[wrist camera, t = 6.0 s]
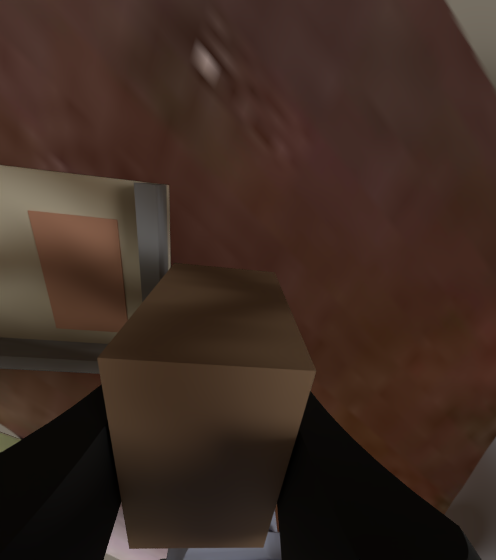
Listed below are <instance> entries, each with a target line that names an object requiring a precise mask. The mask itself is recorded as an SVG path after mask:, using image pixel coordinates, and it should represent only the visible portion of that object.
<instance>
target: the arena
mask: <svg viewBox="0 0 496 560" xmlns="http://www.w3.org/2000/svg"><path fill="white" fill-rule="evenodd" d="M170 268H171V264H170V207H169V185H164V184H156V183H147V182H139V181H130V180H122V179H114V178H105V177H97V176H88V175H80V174H71V173H63V172H55V171H46V170H38V169H29V168H21V167H12V166H4V165H0V368H2V369H22V370H41V371H60V372H80V373H99V374H100V372H99V366H98V360H97V358H98V356H99V355H100V354H101V353H102V351H103V350H104V349H105V348H106V346H107V345H108V344H109V343H110V342H111V340H112V339H113V338H114V337H115V335H116V334H117V333H118V332H119V330H120V329H121V328H122V327H123V326H124V324H125V323H126V322H127V321H128V319H129V318H130V317H131V316H132V314H133V313H134V312H135V311H136V310H137V308H138V307H139V306H140V305H141V303H142V302H143V301H144V300H145V299H146V297H147V296H148V295H149V294H150V292H151V291H152V290H153V289H154V287H155V286H156V285H157V284H158V283H159V281H160V280H161V279H162V278H163V276H164V275H165V274H166V273H167V271H168V270H169V269H170Z"/></svg>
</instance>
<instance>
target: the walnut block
mask: <svg viewBox="0 0 496 560" xmlns="http://www.w3.org/2000/svg"><path fill="white" fill-rule="evenodd" d="M97 360H98V366H99V372H100V378H101V383H102V389H103V395H104V401H105V407H106V413H107V419H108V425H109V431H110V437H111V443H112V449H113V454H114V460H115V466H116V472H117V478H118V484H119V490H120V496H121V502H122V508H123V514H124V520H125V525H126V531H127V537H128V543H129V549H139V548H263V547H264V544H265V541H266V537H267V534H268V531H269V527H270V524H271V521H272V517H273V514H274V511H275V507H276V504H277V501H278V497H279V494H280V490H281V487H282V484H283V480H284V477H285V474H286V470H287V467H288V464H289V460H290V457H291V454H292V450H293V447H294V444H295V440H296V437H297V434H298V430H299V427H300V424H301V420H302V417H303V414H304V410H305V407H306V403H307V400H308V397H309V393H310V390H311V387H312V383H313V380H314V377H315V373H316V369H315V367H314V365H313V362H312V360H311V358H310V355H309V353H308V351H307V348H306V346H305V343H304V341H303V339H302V336H301V334H300V332H299V329H298V327H297V325H296V322H295V320H294V317H293V315H292V313H291V310H290V308H289V306H288V303H287V301H286V299H285V296H284V294H283V291H282V289H281V287H280V284H279V282H278V280H277V277H276V275H275V273H274V272H264V271H253V270H243V269H233V268H222V267H212V266H201V265H191V264H181V263H174V264H173V265H172V267H171V268H170V269H169V270H168V271H167V273H166V274H165V275H164V276H163V278H162V279H161V280H160V281H159V283H158V284H157V285H156V286H155V287H154V289H153V290H152V291H151V292H150V294H149V295H148V296H147V297H146V299H145V300H144V301H143V302H142V303H141V305H140V306H139V307H138V308H137V310H136V311H135V312H134V313H133V314H132V316H131V317H130V318H129V319H128V321H127V322H126V323H125V324H124V326H123V327H122V328H121V329H120V330H119V332H118V333H117V334H116V335H115V337H114V338H113V339H112V340H111V342H110V343H109V344H108V345H107V346H106V348H105V349H104V350H103V351H102V353H101V354H100V355H99V356H98V358H97Z"/></svg>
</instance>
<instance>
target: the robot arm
mask: <svg viewBox="0 0 496 560" xmlns="http://www.w3.org/2000/svg"><path fill="white" fill-rule="evenodd" d="M120 504H121V496H120V490H119V484H118V478H117V472H116V466H115V460H114V454H113V449H112V443H111V437H110V431H109V425H108V419H107V413H106V407H105V401H104V395H103V389H102V384H101V385H100V386H99V387H98V388H96V389H95V390H94V391H93V392H91V393H90V394H89V395H87V396H86V397H85V398H83V399H82V400H81V401H79V402H78V403H77V404H75V405H74V406H73V407H71V408H70V409H68V410H67V411H65V412H64V413H63V414H61V415H60V416H58V417H57V418H55V419H54V420H52V421H51V422H49V423H48V424H46V425H44V426H43V427H41V428H40V429H38V430H36V431H35V432H33V433H32V434H30V435H28V436H27V437H25V438H24V439H22V440H20V441H19V442H17V443H16V444H14V445H12V446H11V447H9V448H7V449H6V450H4V451H2V452H0V560H104V556H105V553H106V549H107V546H108V543H109V540H110V536H111V533H112V530H113V527H114V523H115V520H116V517H117V514H118V510H119V507H120ZM277 507H278V520H279V532H277V526H276V517H275V511H274V514H273V517H272V521H271V524H270V527H269V531H268V534H267V537H266V541H265V544H264V547H263V548H168V553H167V558H166V559H160V560H481V558H480V557H479V555H478V554H477V552H476V551H475V549H474V547H473V546H472V545H471V543H470V542H469V540H468V539H467V537H466V535H465V534H464V533H463V531H462V530H461V529H460V527H459V526H458V525H456V524H455V523H454V522H453V521H451V520H450V519H449V518H447V517H446V516H445V515H444V514H442V513H441V512H440V511H438V510H437V509H436V508H434V507H433V506H432V505H430V504H429V503H428V502H426V501H425V500H424V499H422V498H421V497H420V496H419V495H417V494H416V493H415V492H413V491H412V490H411V489H410V488H408V487H407V486H406V485H405V484H404V483H402V482H401V481H400V480H399V479H398V478H396V477H395V476H394V475H393V474H392V473H390V472H389V471H388V470H387V469H386V468H385V467H383V466H382V465H381V464H380V463H379V462H378V461H376V460H375V459H374V458H373V457H372V456H371V455H370V454H369V453H368V452H367V451H366V450H365V449H363V448H362V447H361V446H360V445H359V444H358V443H357V442H356V441H355V440H354V439H353V438H352V437H351V436H350V435H349V434H348V433H347V432H346V431H345V430H344V429H343V428H342V427H341V426H340V425H339V424H338V423H337V422H336V421H335V420H334V419H333V417H332V416H331V415H330V414H329V413H328V412H327V411H326V409H325V408H324V407H323V406H322V405H321V403H320V402H319V401H318V400H317V399H316V397H315V396H314V395H313V394H312V392H311V391H310V393H309V397H308V400H307V403H306V407H305V410H304V414H303V417H302V420H301V424H300V427H299V430H298V434H297V437H296V440H295V444H294V447H293V450H292V454H291V457H290V460H289V464H288V467H287V470H286V474H285V477H284V480H283V484H282V487H281V490H280V494H279V497H278V501H277Z"/></svg>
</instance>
